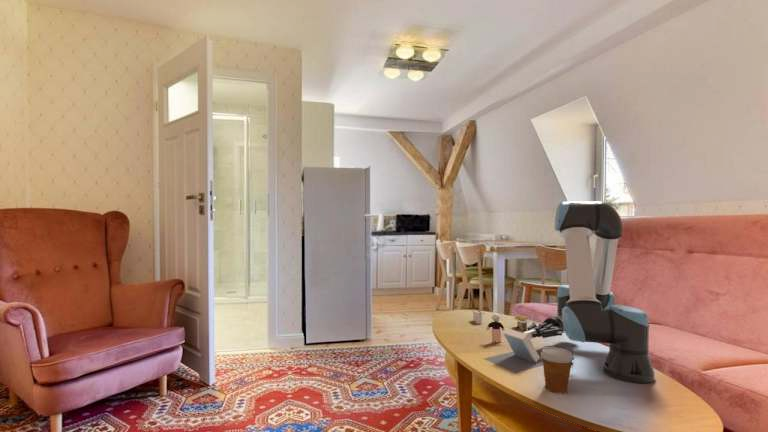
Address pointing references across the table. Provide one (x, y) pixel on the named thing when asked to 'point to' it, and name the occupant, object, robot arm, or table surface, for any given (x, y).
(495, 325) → the grandmother figurine
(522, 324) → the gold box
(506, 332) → the tile
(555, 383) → the disposable coffee cup
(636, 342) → the robot arm
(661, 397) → the table surface
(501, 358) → the mat
